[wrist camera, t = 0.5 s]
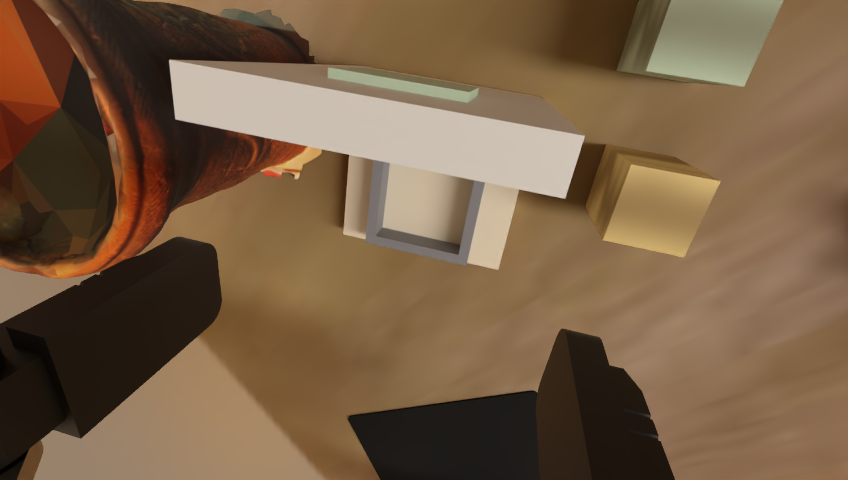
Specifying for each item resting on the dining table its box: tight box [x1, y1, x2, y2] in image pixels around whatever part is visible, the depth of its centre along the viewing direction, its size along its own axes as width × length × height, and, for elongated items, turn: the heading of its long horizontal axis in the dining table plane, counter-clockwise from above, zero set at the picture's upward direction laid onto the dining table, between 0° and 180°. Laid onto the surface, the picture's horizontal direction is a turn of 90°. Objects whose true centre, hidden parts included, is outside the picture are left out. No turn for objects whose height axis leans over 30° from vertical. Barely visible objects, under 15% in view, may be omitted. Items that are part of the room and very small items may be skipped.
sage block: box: [616, 0, 783, 87], centre depth 23 cm, size 5×5×7 cm
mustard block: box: [585, 145, 720, 257], centre depth 28 cm, size 5×5×7 cm
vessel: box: [0, 0, 322, 279], centre depth 25 cm, size 14×14×20 cm
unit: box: [169, 60, 585, 270], centre depth 24 cm, size 14×14×20 cm
